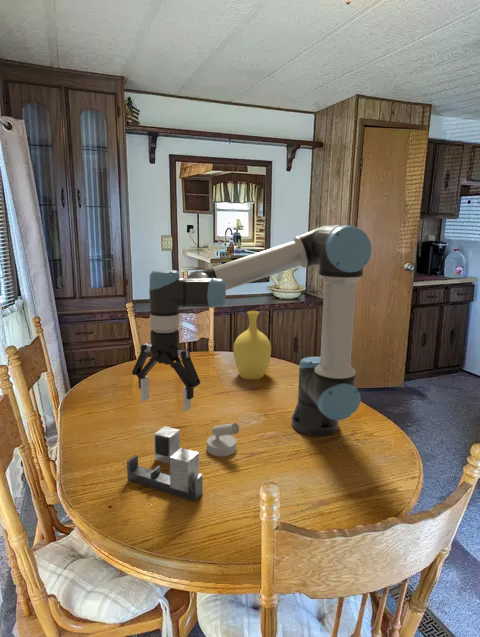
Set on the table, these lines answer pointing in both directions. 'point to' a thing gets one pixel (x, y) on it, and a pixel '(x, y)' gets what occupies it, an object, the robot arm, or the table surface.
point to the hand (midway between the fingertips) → (165, 404)
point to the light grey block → (166, 443)
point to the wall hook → (222, 440)
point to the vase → (252, 350)
